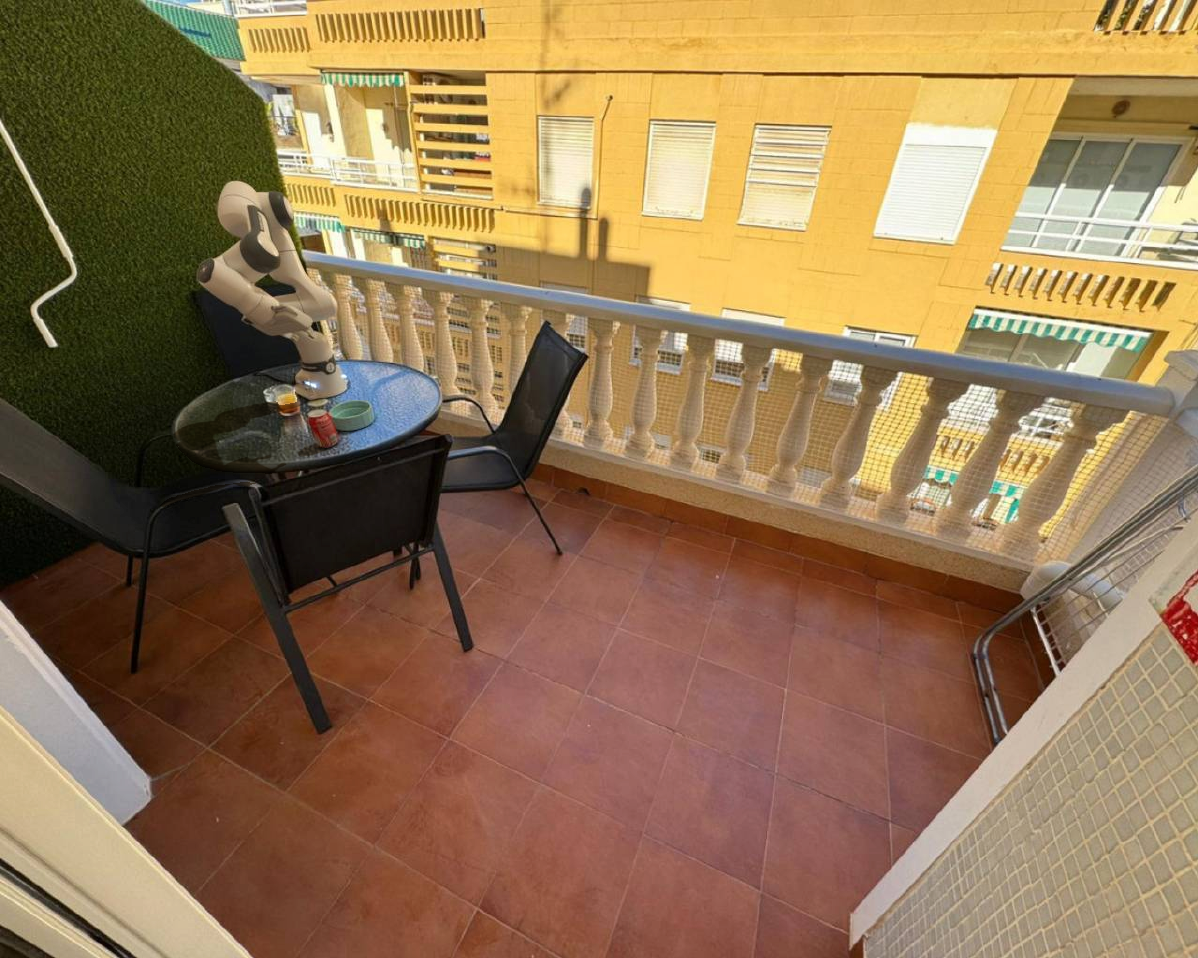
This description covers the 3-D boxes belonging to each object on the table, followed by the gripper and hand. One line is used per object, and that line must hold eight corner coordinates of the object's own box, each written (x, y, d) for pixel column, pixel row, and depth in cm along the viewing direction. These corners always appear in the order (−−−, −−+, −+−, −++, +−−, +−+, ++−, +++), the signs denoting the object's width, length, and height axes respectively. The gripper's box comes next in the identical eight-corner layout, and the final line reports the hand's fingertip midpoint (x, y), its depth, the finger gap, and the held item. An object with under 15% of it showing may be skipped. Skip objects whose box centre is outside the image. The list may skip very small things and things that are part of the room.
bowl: (325, 426, 181) (320, 413, 178) (355, 410, 192) (351, 397, 189) (353, 435, 176) (348, 421, 173) (383, 417, 187) (379, 404, 184)
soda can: (322, 439, 174) (310, 408, 167) (342, 438, 175) (331, 407, 168) (314, 449, 169) (301, 418, 162) (335, 448, 169) (324, 417, 162)
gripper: (288, 295, 140) (331, 326, 151) (247, 304, 149) (290, 333, 160) (279, 313, 138) (323, 343, 149) (238, 321, 147) (282, 349, 158)
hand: (306, 338), depth 155 cm, fingers open, 8 cm apart
